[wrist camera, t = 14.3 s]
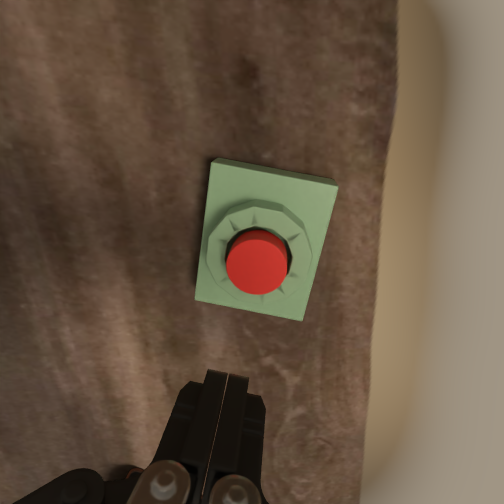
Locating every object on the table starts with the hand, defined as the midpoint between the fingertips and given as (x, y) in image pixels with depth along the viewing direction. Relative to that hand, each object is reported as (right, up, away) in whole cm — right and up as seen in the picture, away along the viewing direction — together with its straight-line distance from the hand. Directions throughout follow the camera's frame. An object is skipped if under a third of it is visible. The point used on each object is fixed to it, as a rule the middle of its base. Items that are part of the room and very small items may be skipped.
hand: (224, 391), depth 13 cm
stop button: (+1, +5, +10) cm, 11 cm away
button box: (+2, +6, +13) cm, 14 cm away
